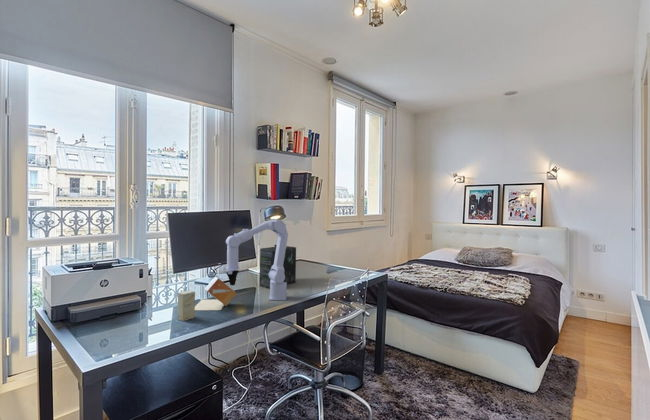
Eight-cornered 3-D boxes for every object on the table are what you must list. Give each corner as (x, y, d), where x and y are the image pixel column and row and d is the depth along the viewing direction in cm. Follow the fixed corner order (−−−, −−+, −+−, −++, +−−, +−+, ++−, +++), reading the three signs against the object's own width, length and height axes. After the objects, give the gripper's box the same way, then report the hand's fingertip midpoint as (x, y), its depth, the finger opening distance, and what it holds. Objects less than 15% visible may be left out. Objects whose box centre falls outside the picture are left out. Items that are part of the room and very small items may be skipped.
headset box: (283, 279, 226) (283, 242, 226) (296, 282, 219) (296, 243, 219) (258, 286, 208) (259, 245, 207) (272, 289, 201) (272, 247, 200)
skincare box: (183, 321, 147) (183, 294, 147) (177, 319, 150) (177, 292, 149) (195, 317, 153) (195, 291, 152) (189, 315, 155) (189, 289, 155)
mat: (228, 299, 179) (228, 299, 179) (220, 310, 163) (220, 309, 163) (201, 300, 178) (201, 299, 178) (191, 310, 161) (191, 310, 161)
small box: (226, 306, 166) (206, 291, 162) (222, 303, 172) (203, 289, 167) (237, 293, 170) (218, 277, 165) (233, 291, 175) (214, 276, 170)
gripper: (227, 256, 178) (227, 281, 178) (221, 261, 163) (221, 288, 163) (241, 256, 178) (241, 281, 178) (236, 261, 164) (235, 288, 164)
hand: (232, 285), depth 171 cm, fingers closed
